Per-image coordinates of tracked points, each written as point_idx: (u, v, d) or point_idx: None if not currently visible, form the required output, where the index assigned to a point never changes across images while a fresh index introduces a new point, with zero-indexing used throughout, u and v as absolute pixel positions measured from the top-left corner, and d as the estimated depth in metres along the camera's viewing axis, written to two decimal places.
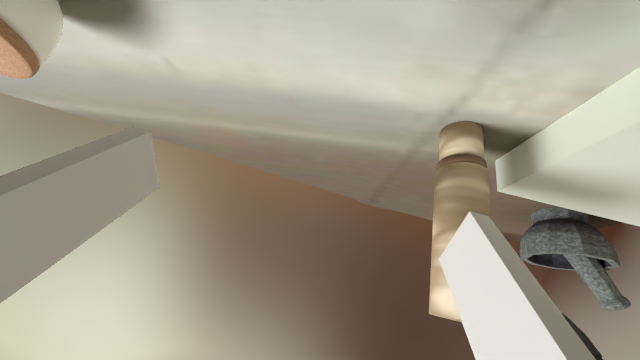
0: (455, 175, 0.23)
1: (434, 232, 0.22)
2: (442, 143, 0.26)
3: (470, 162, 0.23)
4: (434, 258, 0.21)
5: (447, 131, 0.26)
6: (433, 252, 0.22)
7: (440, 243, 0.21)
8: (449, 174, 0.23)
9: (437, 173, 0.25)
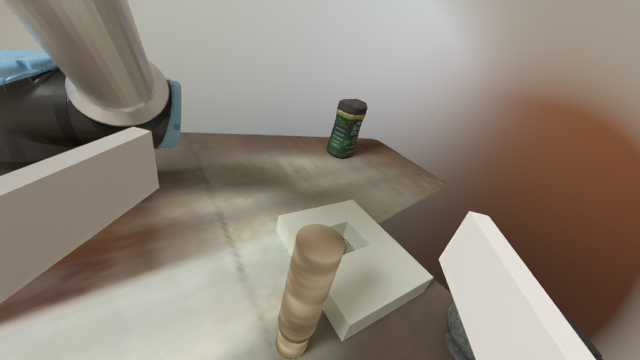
0: None
1: (289, 295, 0.25)
2: (279, 340, 0.30)
3: None
4: (291, 278, 0.24)
5: (276, 339, 0.31)
6: (292, 284, 0.24)
7: (287, 280, 0.25)
8: None
9: (281, 327, 0.28)
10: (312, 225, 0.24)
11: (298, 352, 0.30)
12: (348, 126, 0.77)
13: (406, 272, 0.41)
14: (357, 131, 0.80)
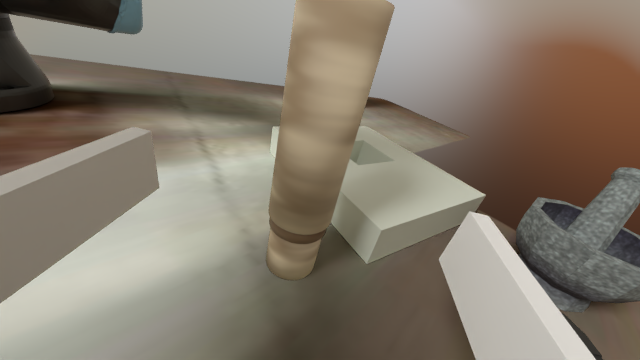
0: None
1: (285, 130, 0.14)
2: (270, 249, 0.19)
3: None
4: (289, 84, 0.13)
5: None
6: (291, 98, 0.13)
7: (283, 104, 0.14)
8: None
9: (272, 214, 0.17)
10: None
11: (302, 267, 0.18)
12: None
13: (448, 187, 0.29)
14: None
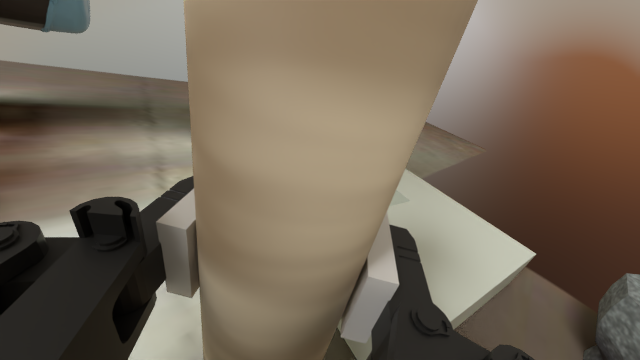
0: None
1: (201, 263, 0.06)
2: None
3: None
4: (194, 169, 0.05)
5: None
6: (200, 203, 0.05)
7: None
8: None
9: None
10: None
11: None
12: None
13: (486, 244, 0.22)
14: None
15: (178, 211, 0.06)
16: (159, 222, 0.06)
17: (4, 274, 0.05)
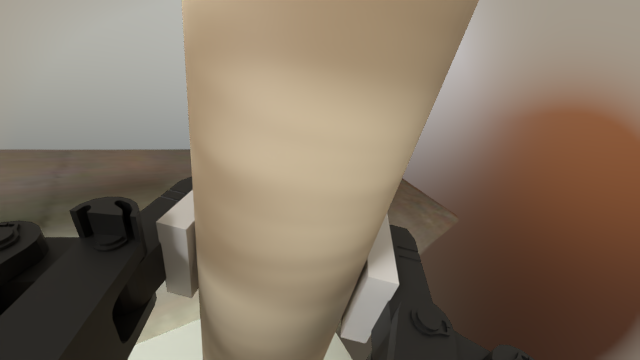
0: None
1: (200, 265, 0.06)
2: None
3: None
4: (192, 171, 0.05)
5: None
6: (199, 205, 0.05)
7: None
8: None
9: None
10: None
11: None
12: None
13: None
14: None
15: (178, 211, 0.06)
16: (159, 222, 0.06)
17: (4, 274, 0.05)
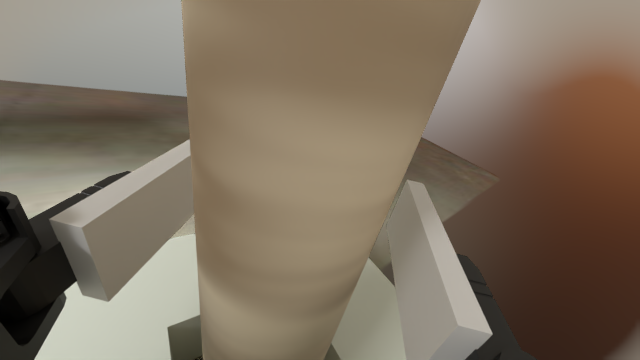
0: None
1: (201, 274, 0.06)
2: None
3: None
4: (193, 184, 0.05)
5: None
6: (199, 217, 0.05)
7: None
8: None
9: None
10: None
11: None
12: None
13: None
14: None
15: (81, 207, 0.06)
16: (53, 219, 0.05)
17: None
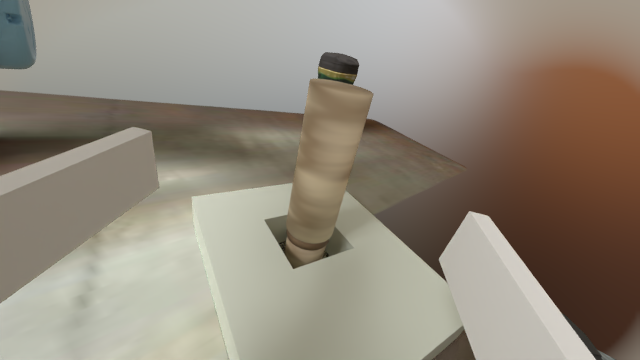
0: None
1: (300, 171, 0.20)
2: (287, 254, 0.24)
3: None
4: (304, 142, 0.19)
5: None
6: (305, 151, 0.19)
7: (298, 153, 0.20)
8: None
9: (289, 228, 0.22)
10: (329, 80, 0.19)
11: None
12: None
13: (424, 302, 0.20)
14: None
15: None
16: None
17: None
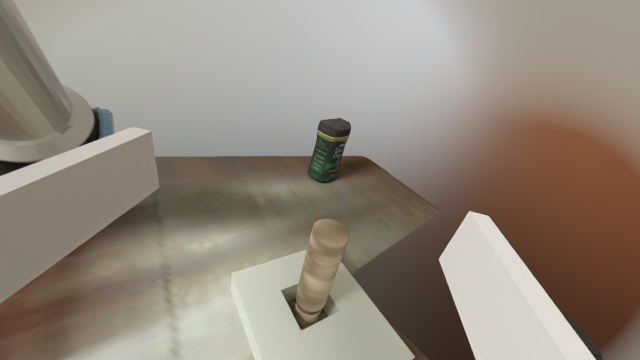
0: None
1: (306, 274, 0.32)
2: (296, 313, 0.37)
3: None
4: (308, 260, 0.31)
5: (293, 313, 0.38)
6: (309, 265, 0.31)
7: (305, 262, 0.32)
8: (297, 289, 0.36)
9: (298, 301, 0.35)
10: (324, 219, 0.32)
11: (311, 323, 0.37)
12: (329, 149, 0.70)
13: (381, 351, 0.33)
14: (340, 153, 0.73)
15: None
16: None
17: None
